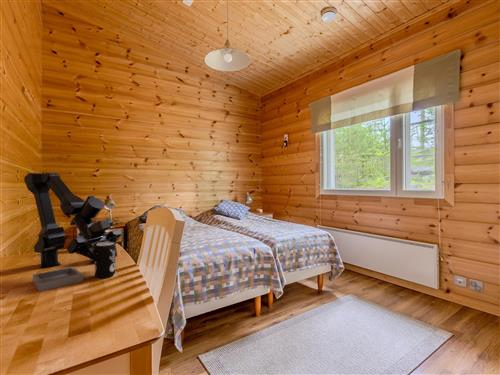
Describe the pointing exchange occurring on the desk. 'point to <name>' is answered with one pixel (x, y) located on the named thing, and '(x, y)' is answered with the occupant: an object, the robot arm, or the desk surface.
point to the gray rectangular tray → (57, 278)
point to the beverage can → (105, 260)
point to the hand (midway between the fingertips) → (107, 258)
